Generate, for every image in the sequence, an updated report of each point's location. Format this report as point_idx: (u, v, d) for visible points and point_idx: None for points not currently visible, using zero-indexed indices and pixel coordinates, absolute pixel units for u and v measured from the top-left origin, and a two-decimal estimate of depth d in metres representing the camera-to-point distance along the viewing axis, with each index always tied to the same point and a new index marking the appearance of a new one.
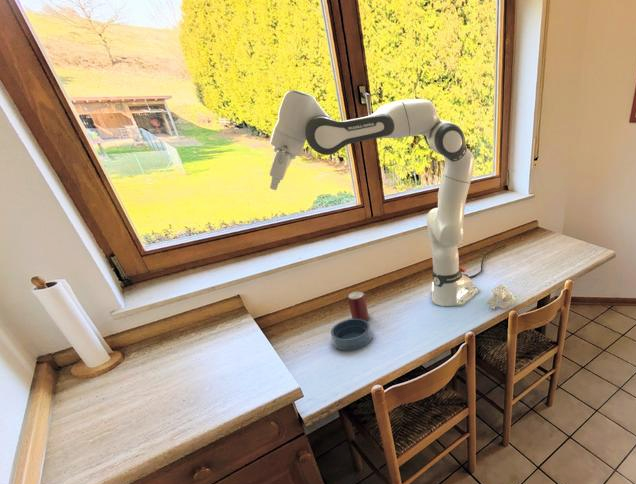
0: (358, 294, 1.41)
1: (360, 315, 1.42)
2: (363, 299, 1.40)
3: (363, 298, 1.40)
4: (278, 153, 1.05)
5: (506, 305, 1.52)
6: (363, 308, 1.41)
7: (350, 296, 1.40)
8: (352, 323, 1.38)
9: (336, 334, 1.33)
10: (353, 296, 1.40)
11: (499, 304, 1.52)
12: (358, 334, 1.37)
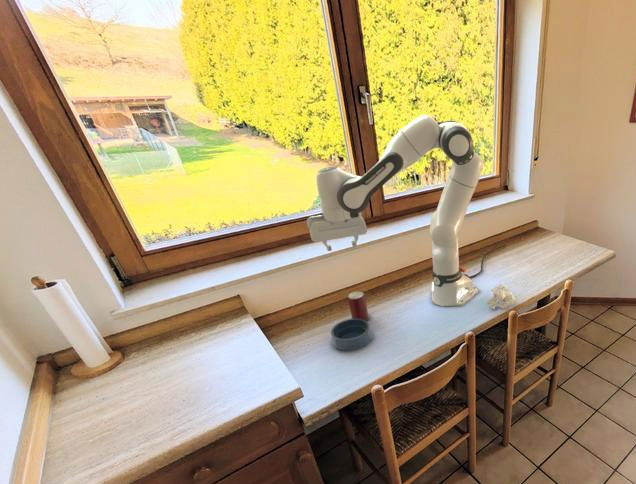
0: (358, 294, 1.41)
1: (360, 315, 1.42)
2: (363, 299, 1.40)
3: (363, 298, 1.40)
4: None
5: (506, 305, 1.52)
6: (363, 308, 1.41)
7: (350, 296, 1.40)
8: (352, 323, 1.38)
9: (336, 334, 1.33)
10: (353, 296, 1.40)
11: (499, 304, 1.52)
12: (358, 334, 1.37)
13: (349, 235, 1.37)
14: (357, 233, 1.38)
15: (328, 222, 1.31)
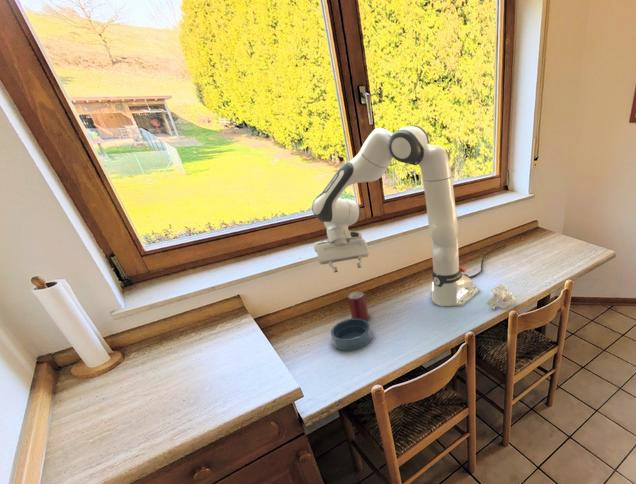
0: (358, 294, 1.41)
1: (360, 315, 1.42)
2: (363, 299, 1.40)
3: (363, 298, 1.40)
4: None
5: (506, 305, 1.52)
6: (363, 308, 1.41)
7: (350, 296, 1.40)
8: (352, 323, 1.38)
9: (336, 334, 1.33)
10: (353, 296, 1.40)
11: (499, 304, 1.52)
12: (358, 334, 1.37)
13: (352, 255, 1.48)
14: (360, 253, 1.49)
15: (332, 243, 1.46)
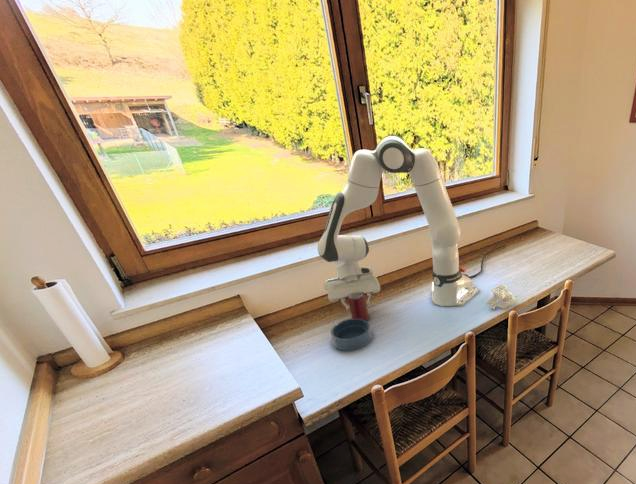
0: (358, 294, 1.41)
1: (360, 315, 1.42)
2: (363, 299, 1.40)
3: (363, 298, 1.40)
4: None
5: (506, 305, 1.52)
6: (363, 308, 1.41)
7: (350, 296, 1.40)
8: (352, 323, 1.38)
9: (336, 334, 1.33)
10: (353, 296, 1.40)
11: (499, 304, 1.52)
12: (358, 334, 1.37)
13: (363, 291, 1.43)
14: (371, 289, 1.45)
15: (342, 281, 1.42)
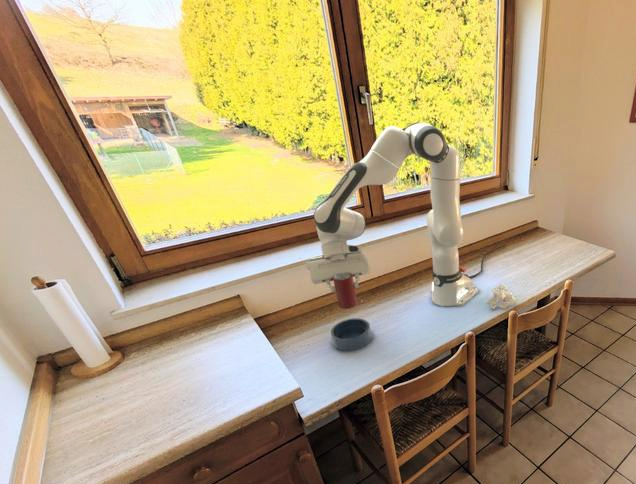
0: (345, 274, 1.25)
1: (347, 299, 1.26)
2: (350, 280, 1.24)
3: (350, 279, 1.24)
4: None
5: (506, 305, 1.52)
6: (350, 290, 1.25)
7: (336, 277, 1.24)
8: (352, 323, 1.38)
9: (336, 334, 1.33)
10: (339, 277, 1.24)
11: (499, 304, 1.52)
12: (358, 334, 1.37)
13: (351, 272, 1.27)
14: (359, 270, 1.29)
15: (327, 260, 1.26)
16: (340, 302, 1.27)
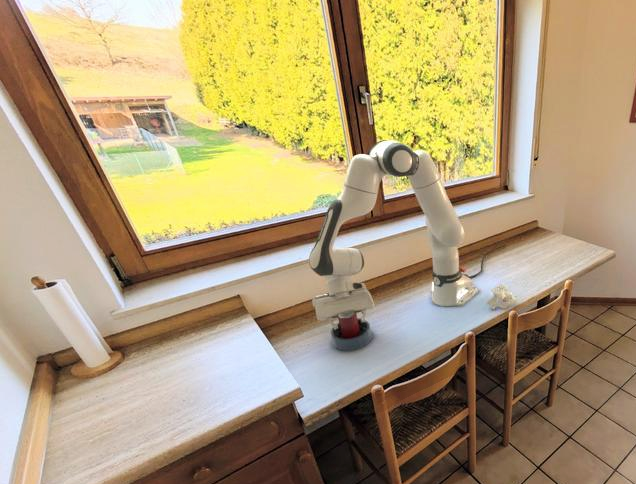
0: (349, 312, 1.29)
1: (352, 336, 1.30)
2: (354, 318, 1.28)
3: (354, 317, 1.28)
4: None
5: (506, 305, 1.52)
6: (354, 327, 1.29)
7: (340, 315, 1.27)
8: None
9: (336, 334, 1.33)
10: (343, 315, 1.27)
11: (499, 304, 1.52)
12: None
13: (355, 309, 1.31)
14: (363, 306, 1.32)
15: (332, 297, 1.30)
16: None
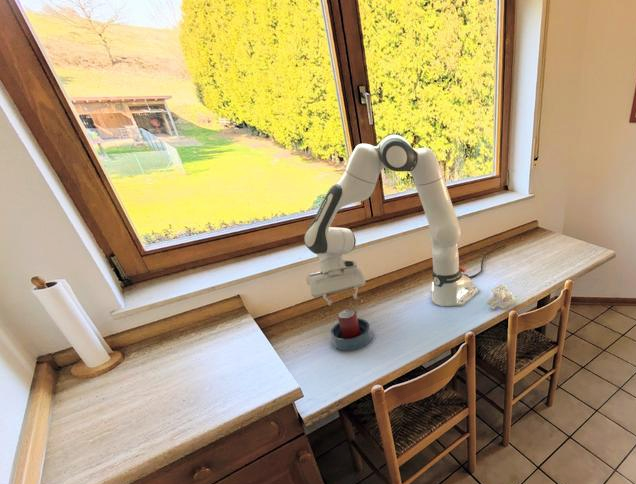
0: (349, 312, 1.29)
1: (352, 336, 1.30)
2: (354, 318, 1.28)
3: (354, 317, 1.28)
4: None
5: (506, 305, 1.52)
6: (354, 327, 1.29)
7: (340, 315, 1.27)
8: None
9: (336, 334, 1.33)
10: (343, 315, 1.27)
11: (499, 304, 1.52)
12: None
13: (347, 285, 1.39)
14: (355, 283, 1.40)
15: (326, 275, 1.37)
16: None
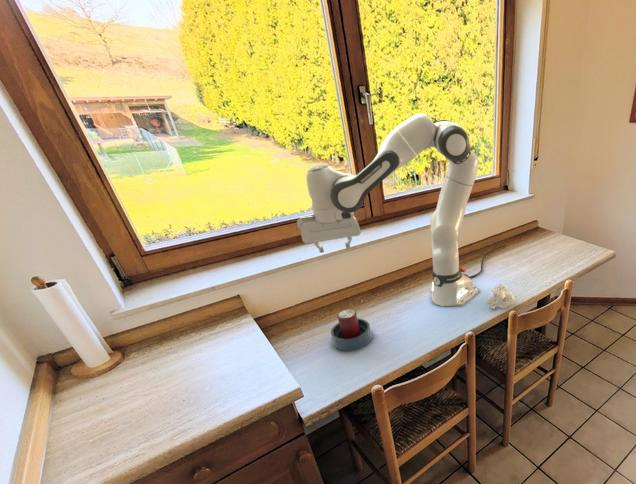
0: (349, 312, 1.29)
1: (352, 336, 1.30)
2: (354, 318, 1.28)
3: (354, 317, 1.28)
4: None
5: (506, 305, 1.52)
6: (354, 327, 1.29)
7: (340, 315, 1.27)
8: None
9: (336, 334, 1.33)
10: (343, 315, 1.27)
11: (499, 304, 1.52)
12: None
13: (342, 236, 1.32)
14: (350, 234, 1.33)
15: (319, 223, 1.26)
16: None
